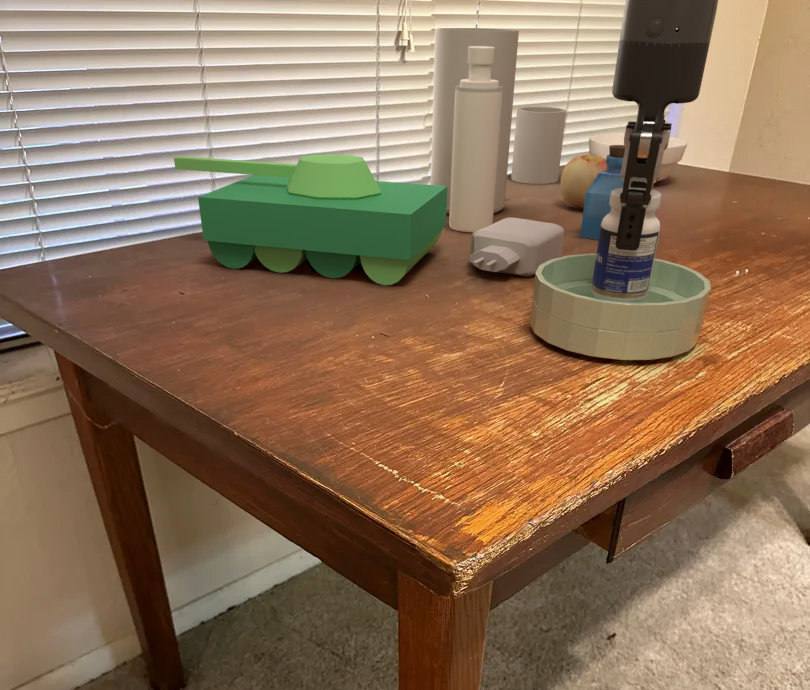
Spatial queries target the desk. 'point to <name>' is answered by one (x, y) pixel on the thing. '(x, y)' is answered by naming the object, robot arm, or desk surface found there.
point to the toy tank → (318, 216)
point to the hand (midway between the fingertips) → (628, 240)
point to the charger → (516, 246)
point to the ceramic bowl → (618, 311)
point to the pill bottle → (625, 255)
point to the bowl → (603, 141)
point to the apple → (580, 177)
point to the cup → (538, 144)
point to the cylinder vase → (446, 76)
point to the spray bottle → (475, 144)
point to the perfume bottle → (602, 193)
